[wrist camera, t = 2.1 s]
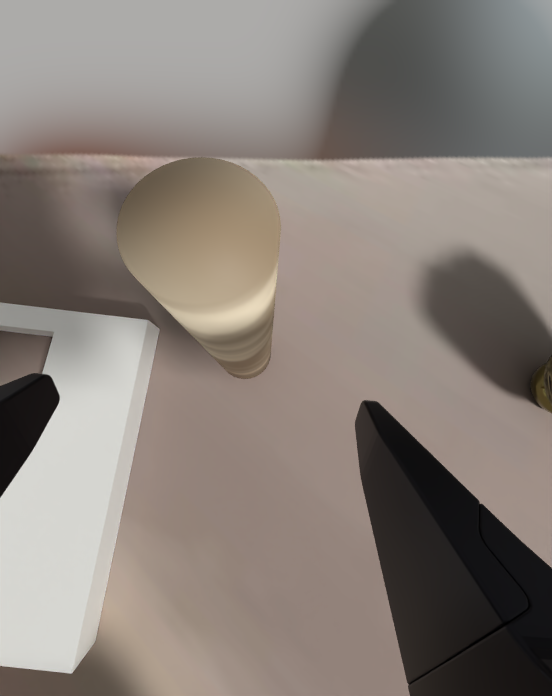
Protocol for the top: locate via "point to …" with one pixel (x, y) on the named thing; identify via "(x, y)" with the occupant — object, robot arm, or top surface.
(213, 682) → the top surface
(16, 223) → the top surface
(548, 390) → the cup
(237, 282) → the long pin
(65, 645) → the hole plate
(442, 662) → the robot arm
